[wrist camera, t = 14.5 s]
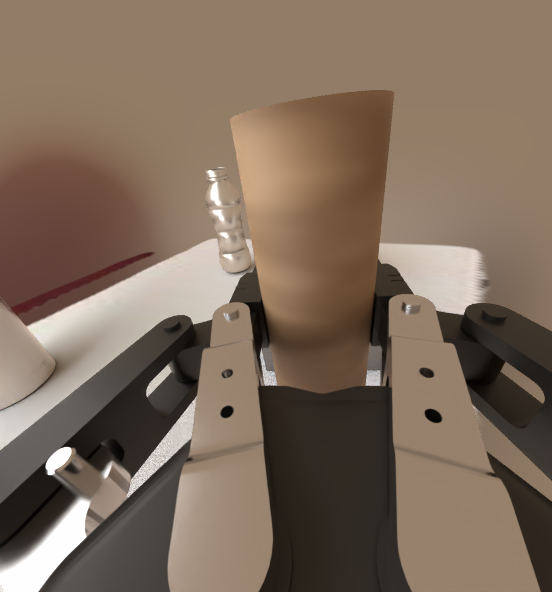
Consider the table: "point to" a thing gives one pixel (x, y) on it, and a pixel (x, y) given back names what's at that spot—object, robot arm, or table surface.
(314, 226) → the stick
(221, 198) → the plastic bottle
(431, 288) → the table surface
